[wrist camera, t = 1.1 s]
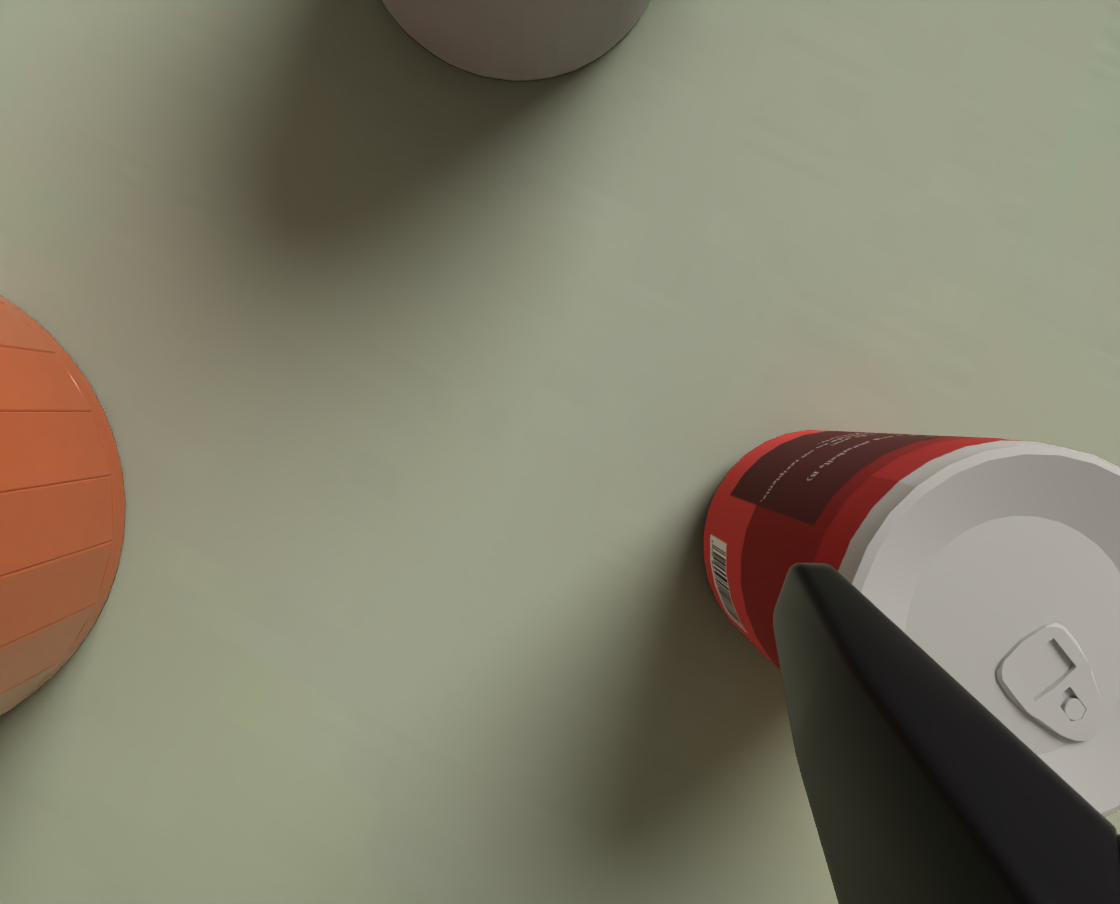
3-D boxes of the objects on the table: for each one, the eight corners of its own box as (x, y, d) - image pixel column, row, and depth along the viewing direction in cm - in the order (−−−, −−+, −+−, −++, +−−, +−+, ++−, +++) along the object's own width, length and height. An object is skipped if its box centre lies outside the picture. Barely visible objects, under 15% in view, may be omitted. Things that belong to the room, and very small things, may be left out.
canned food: (832, 697, 25) (1075, 913, 14) (649, 567, 25) (759, 690, 14) (960, 518, 25) (1302, 599, 14) (780, 384, 25) (996, 360, 14)
